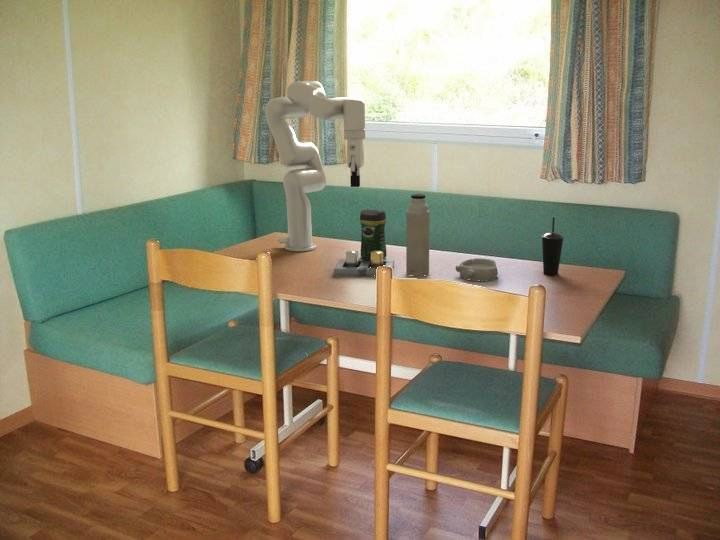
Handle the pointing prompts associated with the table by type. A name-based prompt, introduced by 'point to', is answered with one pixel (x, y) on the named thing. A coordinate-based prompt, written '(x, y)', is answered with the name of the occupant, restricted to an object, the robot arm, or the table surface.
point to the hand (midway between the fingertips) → (355, 186)
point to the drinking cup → (551, 251)
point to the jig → (361, 271)
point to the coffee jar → (372, 232)
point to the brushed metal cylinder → (352, 258)
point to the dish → (478, 269)
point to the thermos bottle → (417, 236)
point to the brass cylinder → (376, 259)
